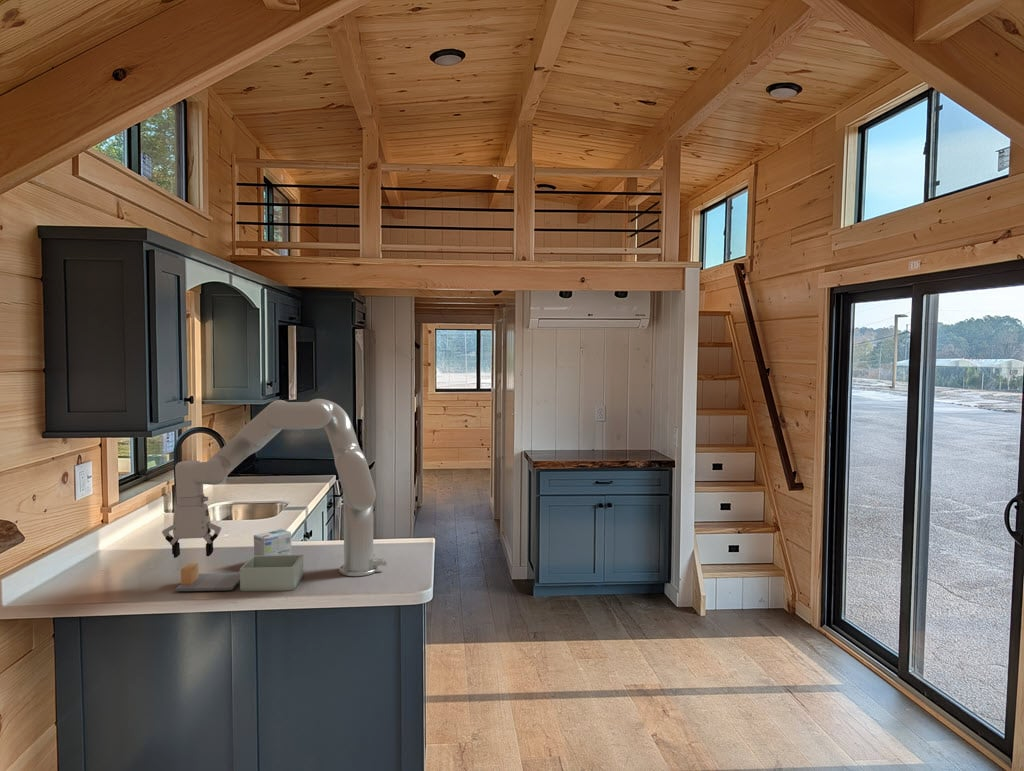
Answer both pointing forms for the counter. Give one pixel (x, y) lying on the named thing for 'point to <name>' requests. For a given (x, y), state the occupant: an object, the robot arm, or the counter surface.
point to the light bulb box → (272, 543)
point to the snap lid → (206, 580)
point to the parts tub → (271, 573)
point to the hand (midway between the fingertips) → (193, 555)
